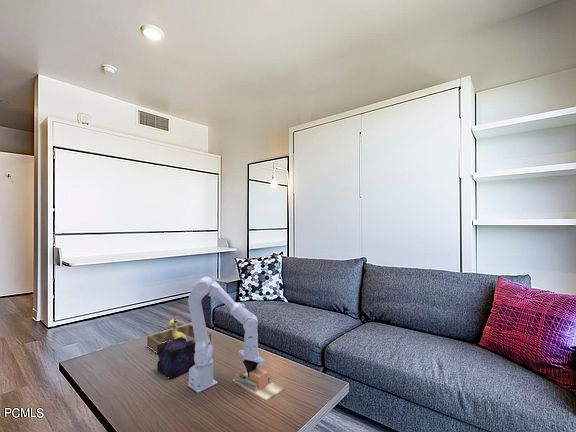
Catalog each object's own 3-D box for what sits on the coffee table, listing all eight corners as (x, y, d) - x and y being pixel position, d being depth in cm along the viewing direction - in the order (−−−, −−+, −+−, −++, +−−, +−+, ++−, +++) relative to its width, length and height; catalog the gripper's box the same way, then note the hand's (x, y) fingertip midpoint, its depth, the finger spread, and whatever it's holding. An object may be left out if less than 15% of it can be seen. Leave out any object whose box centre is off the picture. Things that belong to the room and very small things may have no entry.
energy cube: (181, 361, 145) (181, 336, 145) (195, 369, 137) (195, 343, 138) (157, 371, 136) (157, 345, 136) (171, 380, 128) (171, 352, 128)
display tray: (167, 360, 146) (167, 348, 146) (147, 347, 162) (147, 336, 162) (211, 344, 165) (211, 333, 165) (189, 334, 180) (189, 324, 180)
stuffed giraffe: (161, 342, 167) (162, 314, 166) (194, 338, 174) (195, 311, 174) (162, 355, 152) (163, 324, 152) (198, 349, 160) (199, 320, 160)
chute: (266, 401, 112) (266, 391, 112) (232, 381, 126) (232, 372, 127) (284, 389, 120) (284, 380, 120) (250, 372, 134) (250, 364, 134)
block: (259, 389, 119) (259, 377, 119) (249, 384, 123) (249, 372, 123) (268, 384, 122) (268, 372, 123) (258, 379, 126) (258, 367, 127)
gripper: (269, 346, 124) (270, 379, 124) (247, 337, 134) (247, 367, 134) (257, 352, 119) (257, 386, 119) (234, 342, 129) (234, 374, 128)
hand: (251, 377), depth 126 cm, fingers closed
